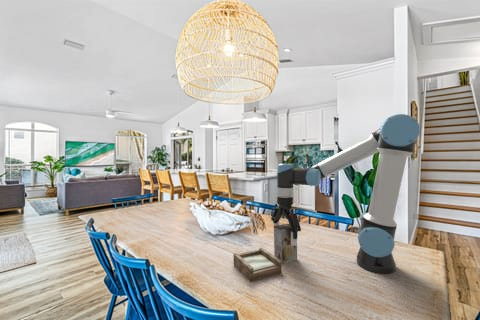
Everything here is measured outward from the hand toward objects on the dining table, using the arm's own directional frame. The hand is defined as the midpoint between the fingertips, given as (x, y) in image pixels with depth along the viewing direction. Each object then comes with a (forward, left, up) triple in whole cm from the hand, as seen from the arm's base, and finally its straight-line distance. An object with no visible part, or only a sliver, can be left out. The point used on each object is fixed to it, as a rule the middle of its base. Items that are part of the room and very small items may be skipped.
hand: (284, 240), depth 111 cm
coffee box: (0, 0, -9) cm, 9 cm away
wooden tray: (-2, +17, -9) cm, 19 cm away
